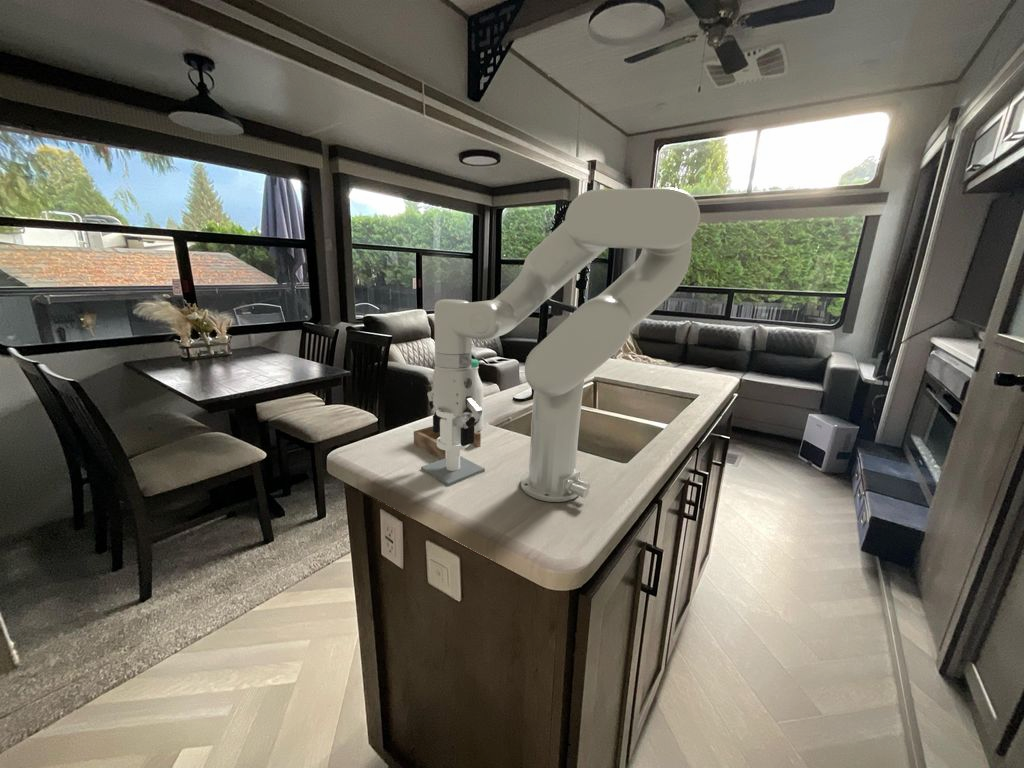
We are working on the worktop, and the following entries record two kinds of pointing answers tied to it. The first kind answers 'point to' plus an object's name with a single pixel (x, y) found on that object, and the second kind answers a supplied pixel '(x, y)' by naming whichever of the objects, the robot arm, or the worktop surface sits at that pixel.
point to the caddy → (429, 443)
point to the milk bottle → (478, 393)
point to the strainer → (450, 438)
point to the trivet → (452, 477)
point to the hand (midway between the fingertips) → (453, 437)
